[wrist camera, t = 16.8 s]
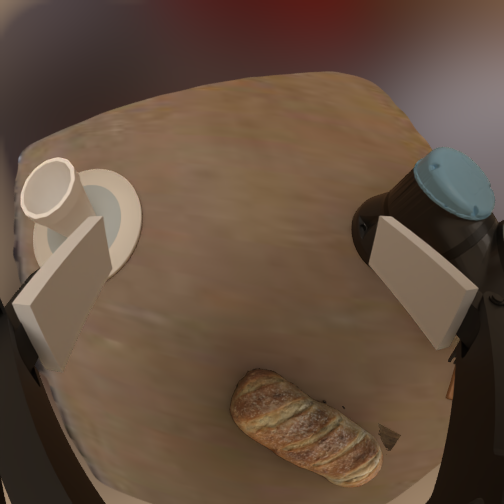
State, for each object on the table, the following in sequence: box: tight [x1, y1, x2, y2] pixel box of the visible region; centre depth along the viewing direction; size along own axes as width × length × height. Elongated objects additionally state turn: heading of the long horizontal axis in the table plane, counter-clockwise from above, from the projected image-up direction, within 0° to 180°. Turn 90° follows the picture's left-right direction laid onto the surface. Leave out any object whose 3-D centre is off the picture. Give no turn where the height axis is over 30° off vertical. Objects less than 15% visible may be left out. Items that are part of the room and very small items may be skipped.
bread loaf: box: [230, 368, 401, 487], centre depth 35 cm, size 35×18×9 cm, turn 61°
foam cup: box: [21, 157, 96, 238], centre depth 36 cm, size 10×9×13 cm
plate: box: [33, 169, 142, 281], centre depth 43 cm, size 22×22×1 cm
